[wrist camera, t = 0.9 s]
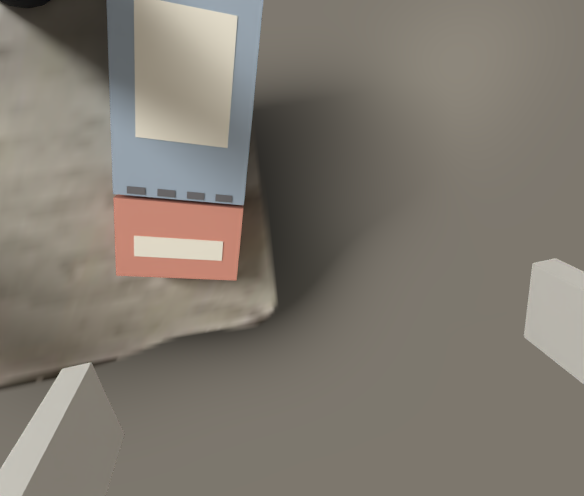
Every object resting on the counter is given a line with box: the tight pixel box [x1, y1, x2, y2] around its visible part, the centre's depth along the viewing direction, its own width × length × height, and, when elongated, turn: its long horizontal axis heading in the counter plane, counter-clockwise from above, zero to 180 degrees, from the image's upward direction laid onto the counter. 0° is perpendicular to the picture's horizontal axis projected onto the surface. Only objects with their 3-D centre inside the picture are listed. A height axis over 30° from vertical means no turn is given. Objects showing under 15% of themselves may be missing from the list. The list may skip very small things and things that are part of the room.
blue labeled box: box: [107, 0, 263, 205], centre depth 26 cm, size 9×14×4 cm, turn 172°
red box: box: [114, 194, 243, 280], centre depth 29 cm, size 9×6×4 cm, turn 82°
